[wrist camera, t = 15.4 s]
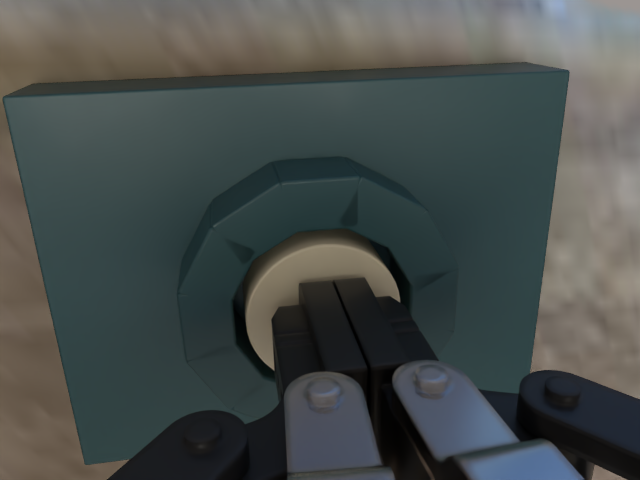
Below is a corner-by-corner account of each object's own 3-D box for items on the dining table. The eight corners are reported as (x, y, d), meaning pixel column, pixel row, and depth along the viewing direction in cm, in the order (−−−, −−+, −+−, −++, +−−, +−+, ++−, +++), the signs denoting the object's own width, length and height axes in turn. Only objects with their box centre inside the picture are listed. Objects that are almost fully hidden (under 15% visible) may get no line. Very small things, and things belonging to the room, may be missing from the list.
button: (248, 351, 15) (251, 392, 14) (237, 223, 14) (240, 251, 12) (380, 337, 16) (399, 374, 14) (382, 212, 15) (404, 237, 13)
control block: (98, 414, 18) (69, 518, 14) (30, 83, 14) (-33, 110, 11) (494, 366, 20) (557, 447, 16) (527, 61, 16) (617, 78, 13)
